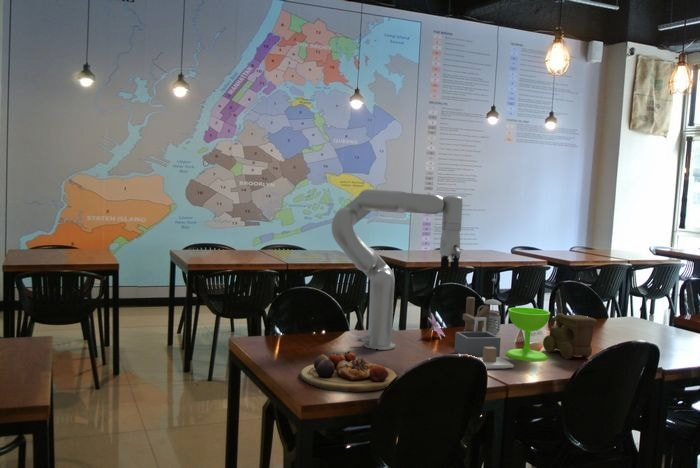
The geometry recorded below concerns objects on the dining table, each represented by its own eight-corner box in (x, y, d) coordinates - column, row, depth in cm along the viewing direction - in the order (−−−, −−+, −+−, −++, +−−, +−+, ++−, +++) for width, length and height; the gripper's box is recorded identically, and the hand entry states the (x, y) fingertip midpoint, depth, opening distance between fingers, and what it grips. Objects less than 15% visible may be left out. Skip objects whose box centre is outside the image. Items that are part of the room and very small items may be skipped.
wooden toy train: (596, 361, 247) (599, 319, 246) (573, 362, 243) (575, 320, 242) (561, 348, 266) (564, 309, 265) (539, 350, 261) (542, 310, 260)
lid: (477, 370, 226) (478, 351, 226) (465, 362, 237) (466, 344, 236) (513, 370, 229) (514, 351, 229) (499, 362, 240) (500, 343, 240)
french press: (504, 334, 288) (507, 280, 286) (478, 333, 288) (481, 279, 286) (499, 330, 298) (502, 277, 296) (474, 329, 298) (477, 276, 296)
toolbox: (465, 359, 241) (467, 325, 240) (450, 349, 255) (452, 317, 254) (500, 358, 244) (502, 324, 244) (483, 349, 258) (485, 317, 258)
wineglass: (497, 352, 254) (499, 308, 253) (529, 350, 260) (531, 306, 259) (523, 362, 239) (526, 315, 238) (556, 359, 246) (559, 314, 245)
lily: (429, 343, 269) (441, 325, 268) (411, 328, 277) (423, 310, 276) (444, 348, 278) (456, 330, 277) (426, 333, 286) (438, 315, 284)
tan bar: (478, 327, 256) (479, 321, 256) (462, 319, 271) (463, 313, 271) (483, 327, 256) (483, 321, 256) (467, 319, 272) (467, 313, 272)
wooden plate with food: (416, 386, 205) (418, 360, 205) (333, 398, 187) (334, 371, 187) (361, 363, 232) (362, 341, 231) (283, 373, 214) (284, 349, 214)
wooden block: (488, 338, 279) (490, 297, 278) (466, 339, 276) (469, 298, 275) (483, 336, 283) (486, 296, 282) (462, 337, 279) (464, 296, 278)
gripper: (434, 225, 258) (432, 267, 259) (451, 228, 241) (448, 273, 242) (451, 226, 260) (449, 267, 261) (469, 229, 243) (467, 273, 244)
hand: (449, 270), depth 251 cm, fingers open, 9 cm apart
